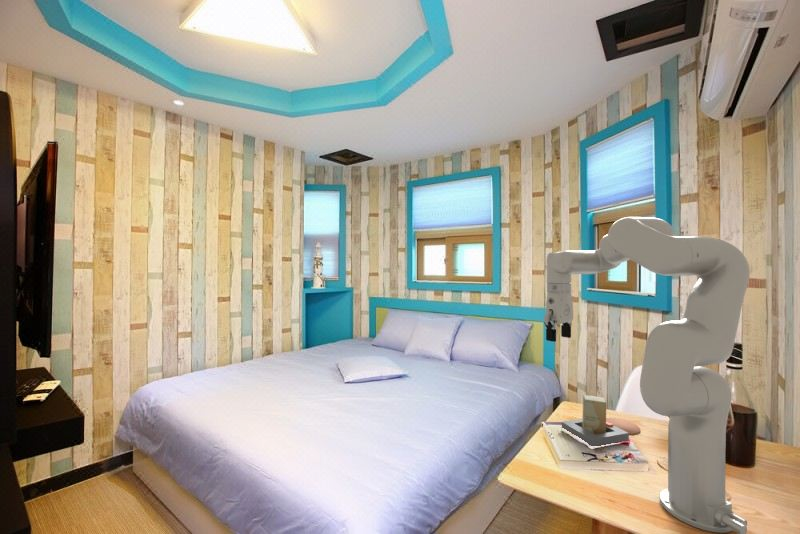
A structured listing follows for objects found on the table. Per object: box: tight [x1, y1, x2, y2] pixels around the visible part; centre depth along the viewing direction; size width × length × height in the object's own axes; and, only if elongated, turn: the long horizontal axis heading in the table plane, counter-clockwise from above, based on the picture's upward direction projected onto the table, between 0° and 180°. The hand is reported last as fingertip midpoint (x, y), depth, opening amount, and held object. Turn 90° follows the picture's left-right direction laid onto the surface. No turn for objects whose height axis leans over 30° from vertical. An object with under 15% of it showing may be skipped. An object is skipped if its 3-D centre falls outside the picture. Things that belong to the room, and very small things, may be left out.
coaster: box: [606, 417, 641, 436], centre depth 116 cm, size 11×11×1 cm
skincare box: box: [582, 394, 607, 435], centre depth 109 cm, size 6×4×12 cm
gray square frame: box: [561, 418, 630, 446], centre depth 109 cm, size 12×14×4 cm
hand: (558, 339), depth 117 cm, fingers open, 9 cm apart
